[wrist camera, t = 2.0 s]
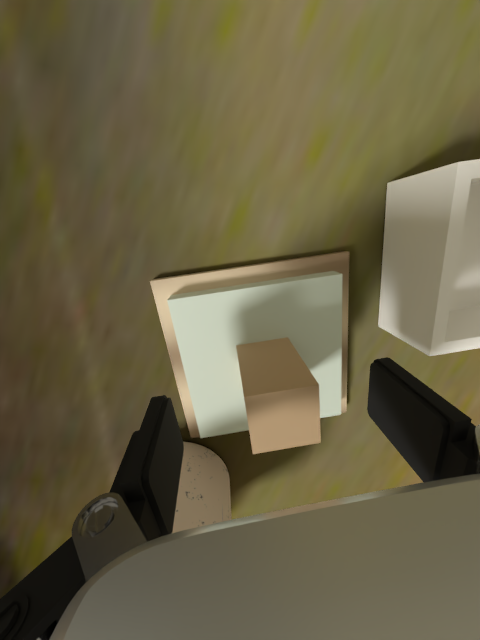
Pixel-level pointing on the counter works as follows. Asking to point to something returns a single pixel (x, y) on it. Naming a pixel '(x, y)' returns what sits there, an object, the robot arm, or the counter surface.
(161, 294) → the mat
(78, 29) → the counter surface
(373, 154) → the counter surface
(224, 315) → the lid
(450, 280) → the white open square tray
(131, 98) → the counter surface
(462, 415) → the robot arm
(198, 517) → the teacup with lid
